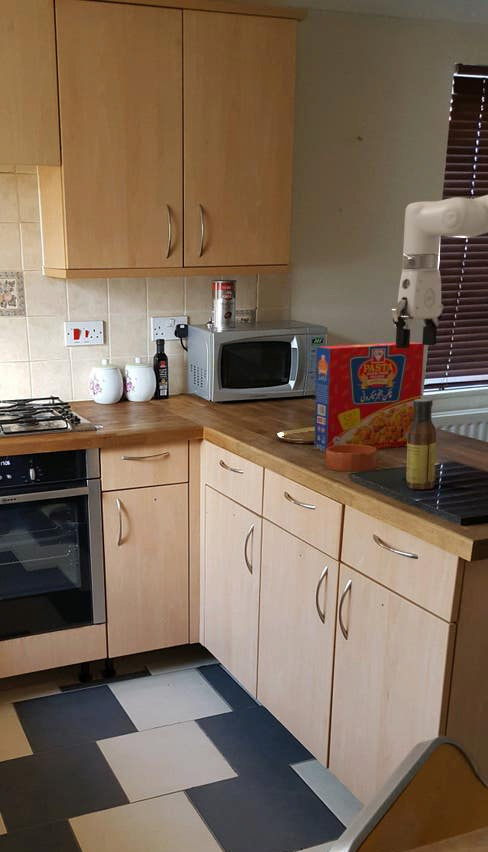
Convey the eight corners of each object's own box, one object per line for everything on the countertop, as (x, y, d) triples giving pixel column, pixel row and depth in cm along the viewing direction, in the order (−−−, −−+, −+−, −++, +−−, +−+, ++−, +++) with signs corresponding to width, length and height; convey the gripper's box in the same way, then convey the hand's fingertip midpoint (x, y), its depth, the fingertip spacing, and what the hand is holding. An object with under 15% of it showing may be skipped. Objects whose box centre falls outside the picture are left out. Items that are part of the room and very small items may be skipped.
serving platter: (394, 433, 265) (395, 428, 265) (304, 447, 249) (304, 442, 248) (352, 426, 281) (352, 421, 280) (264, 438, 264) (264, 433, 264)
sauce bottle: (426, 483, 202) (432, 396, 195) (439, 489, 196) (445, 400, 189) (400, 485, 201) (404, 398, 194) (411, 491, 195) (417, 401, 188)
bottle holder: (384, 464, 224) (384, 446, 222) (362, 473, 214) (363, 455, 213) (339, 459, 231) (339, 442, 230) (316, 468, 222) (316, 450, 220)
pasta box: (326, 453, 240) (330, 348, 231) (314, 448, 247) (316, 346, 238) (417, 445, 247) (424, 343, 238) (402, 441, 254) (408, 341, 245)
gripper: (410, 264, 180) (406, 350, 185) (459, 263, 190) (453, 344, 195) (381, 265, 185) (377, 348, 191) (429, 264, 195) (424, 343, 201)
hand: (415, 346), depth 193 cm, fingers open, 9 cm apart
